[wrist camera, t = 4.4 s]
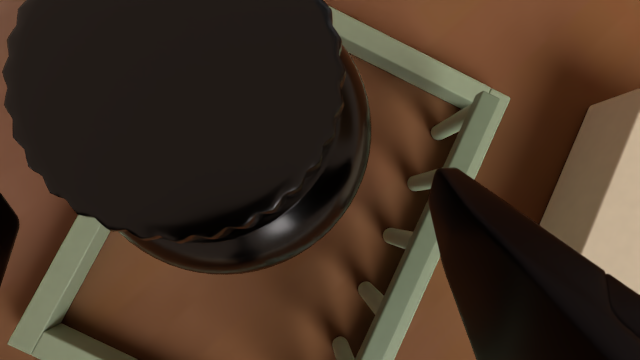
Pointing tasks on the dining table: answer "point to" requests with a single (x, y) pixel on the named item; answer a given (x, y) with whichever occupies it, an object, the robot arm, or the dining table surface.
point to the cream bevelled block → (603, 190)
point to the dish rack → (420, 245)
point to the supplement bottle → (192, 122)
